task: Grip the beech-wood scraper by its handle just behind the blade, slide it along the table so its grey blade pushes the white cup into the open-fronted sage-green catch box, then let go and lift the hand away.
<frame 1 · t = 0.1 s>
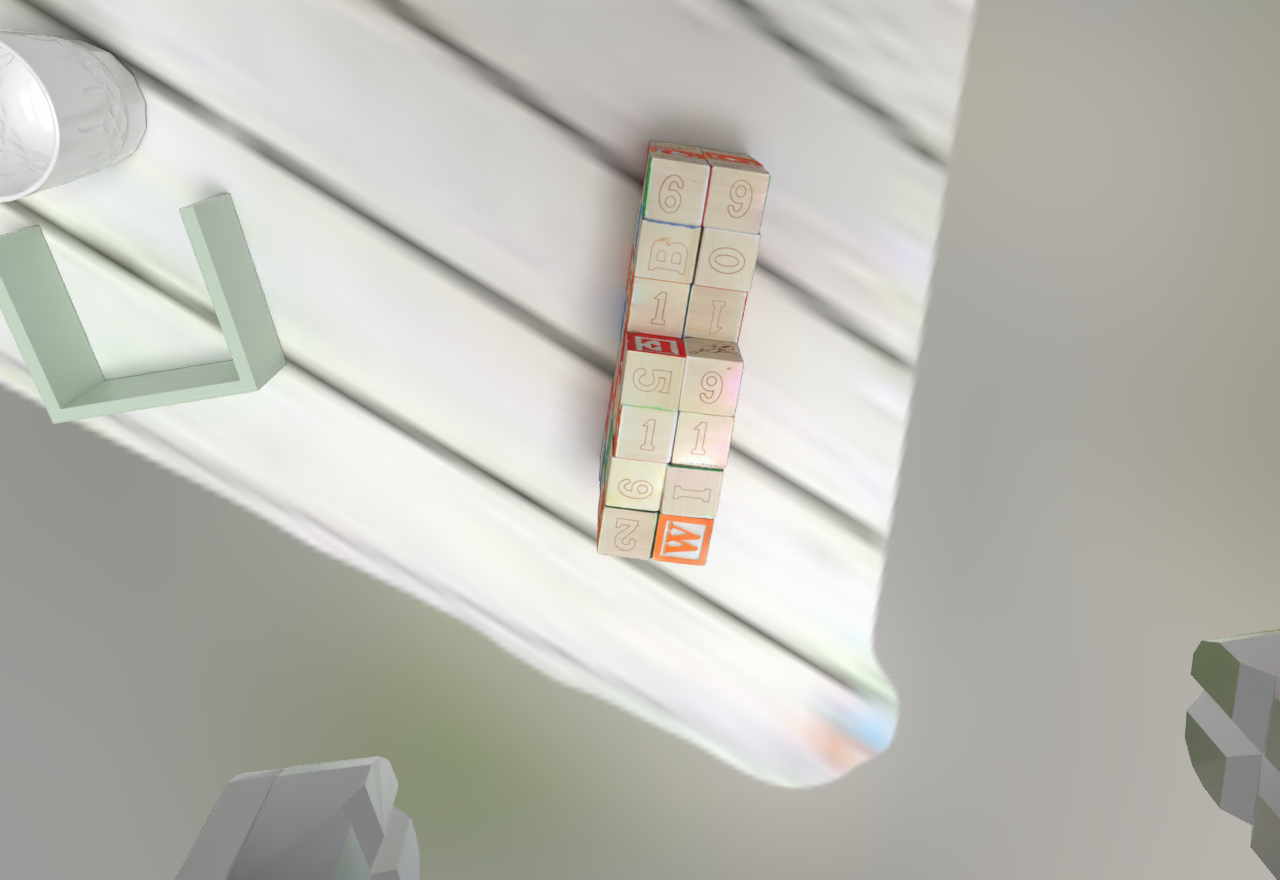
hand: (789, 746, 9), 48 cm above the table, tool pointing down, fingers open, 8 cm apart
catch box: (160, 298, 55), on the table
stack of blocks: (669, 318, 57), on the table
white cup: (89, 104, 51), on the table
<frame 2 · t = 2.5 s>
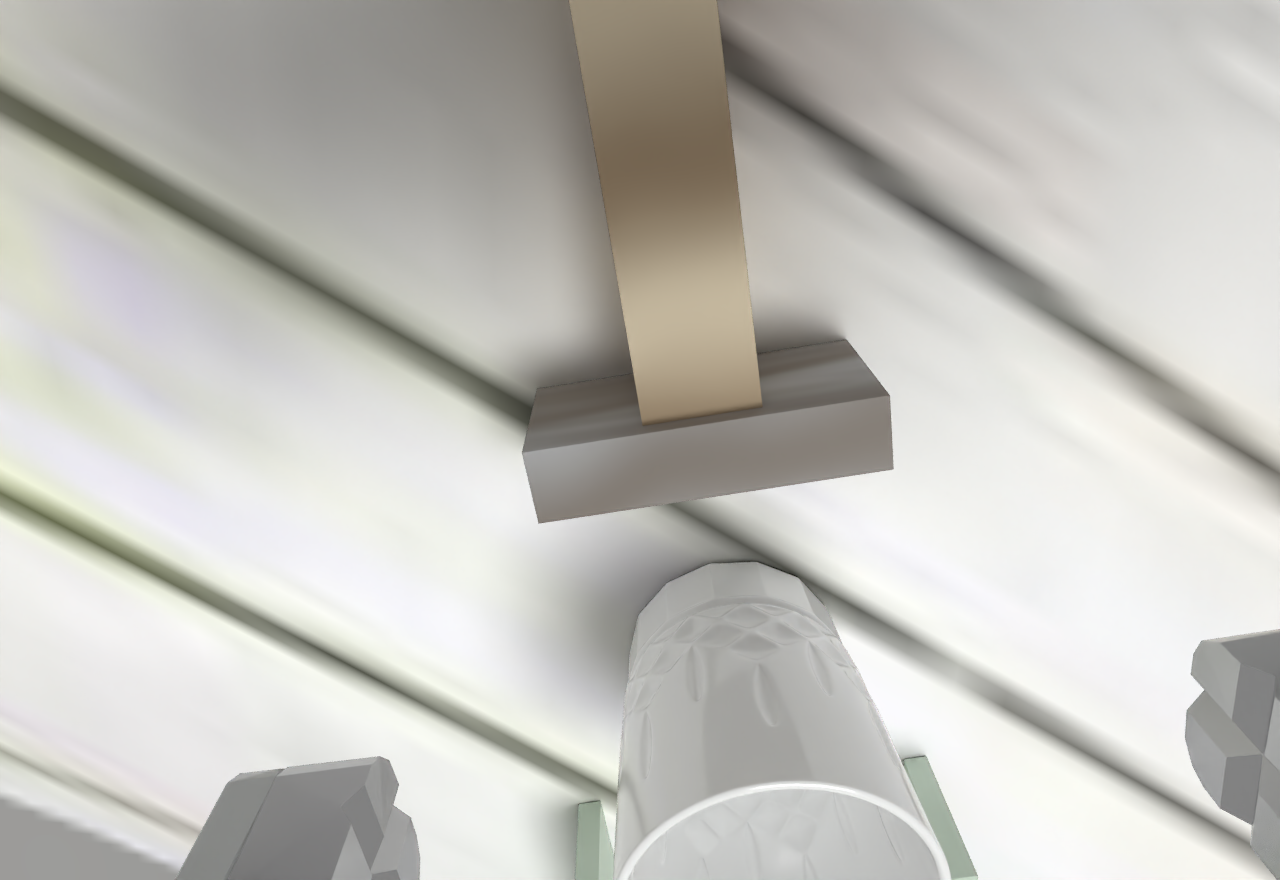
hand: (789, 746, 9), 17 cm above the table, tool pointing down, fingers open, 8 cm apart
scraper: (659, 148, 23), on the table
white cup: (730, 641, 30), on the table
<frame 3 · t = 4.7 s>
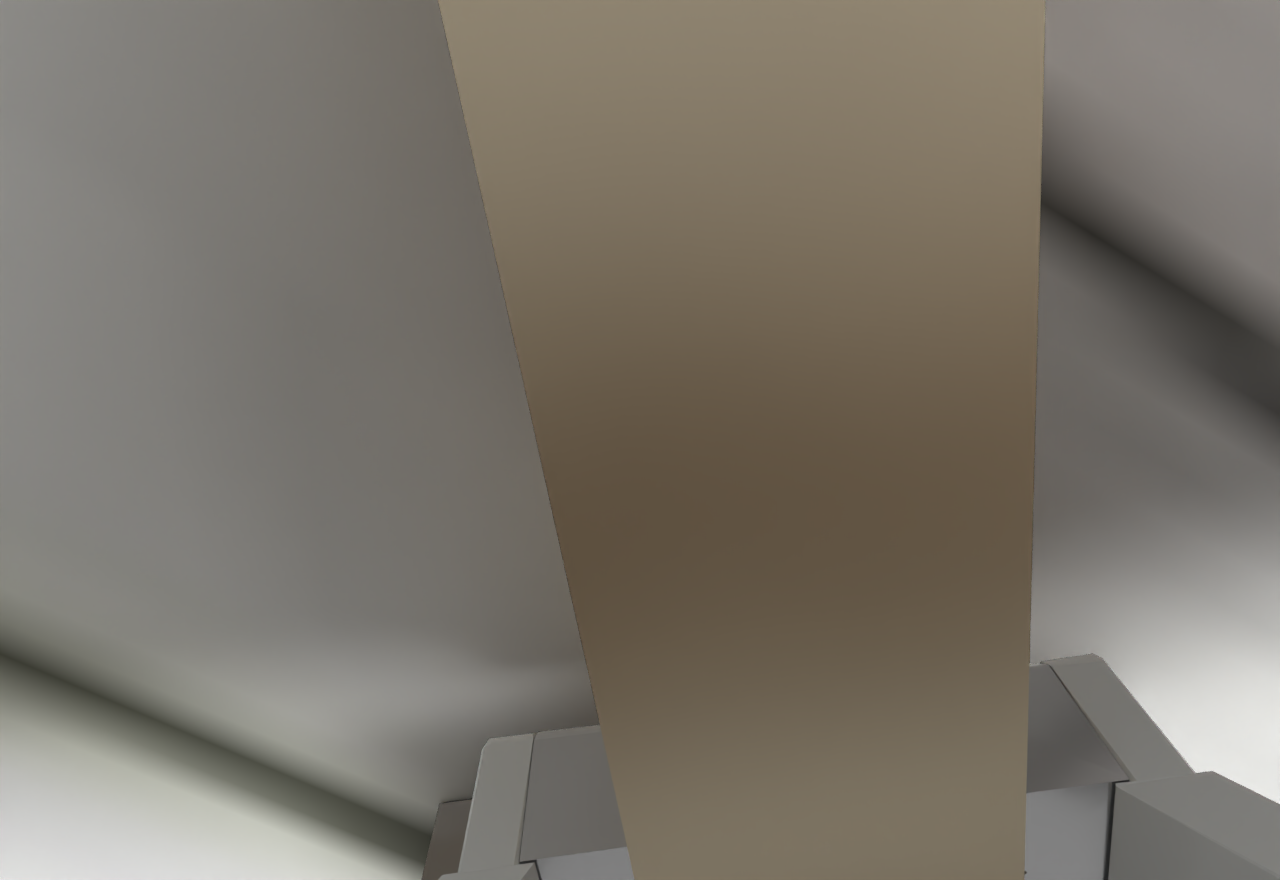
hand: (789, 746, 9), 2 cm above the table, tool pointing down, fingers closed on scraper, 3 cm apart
scraper: (722, 315, 9), on the table, touching gripper
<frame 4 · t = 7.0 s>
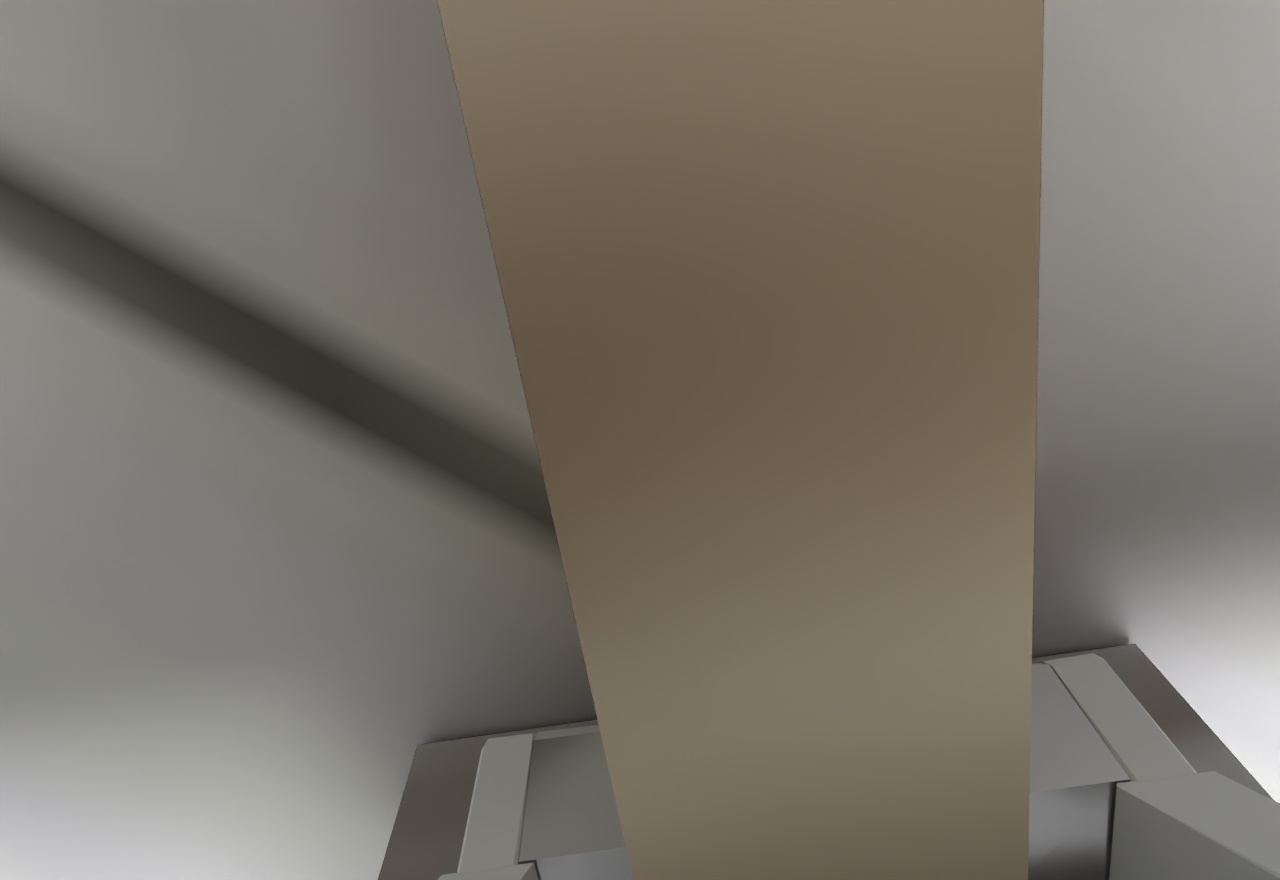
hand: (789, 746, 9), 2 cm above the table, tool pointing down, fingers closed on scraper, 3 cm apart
scraper: (709, 210, 9), on the table, touching white cup, gripper
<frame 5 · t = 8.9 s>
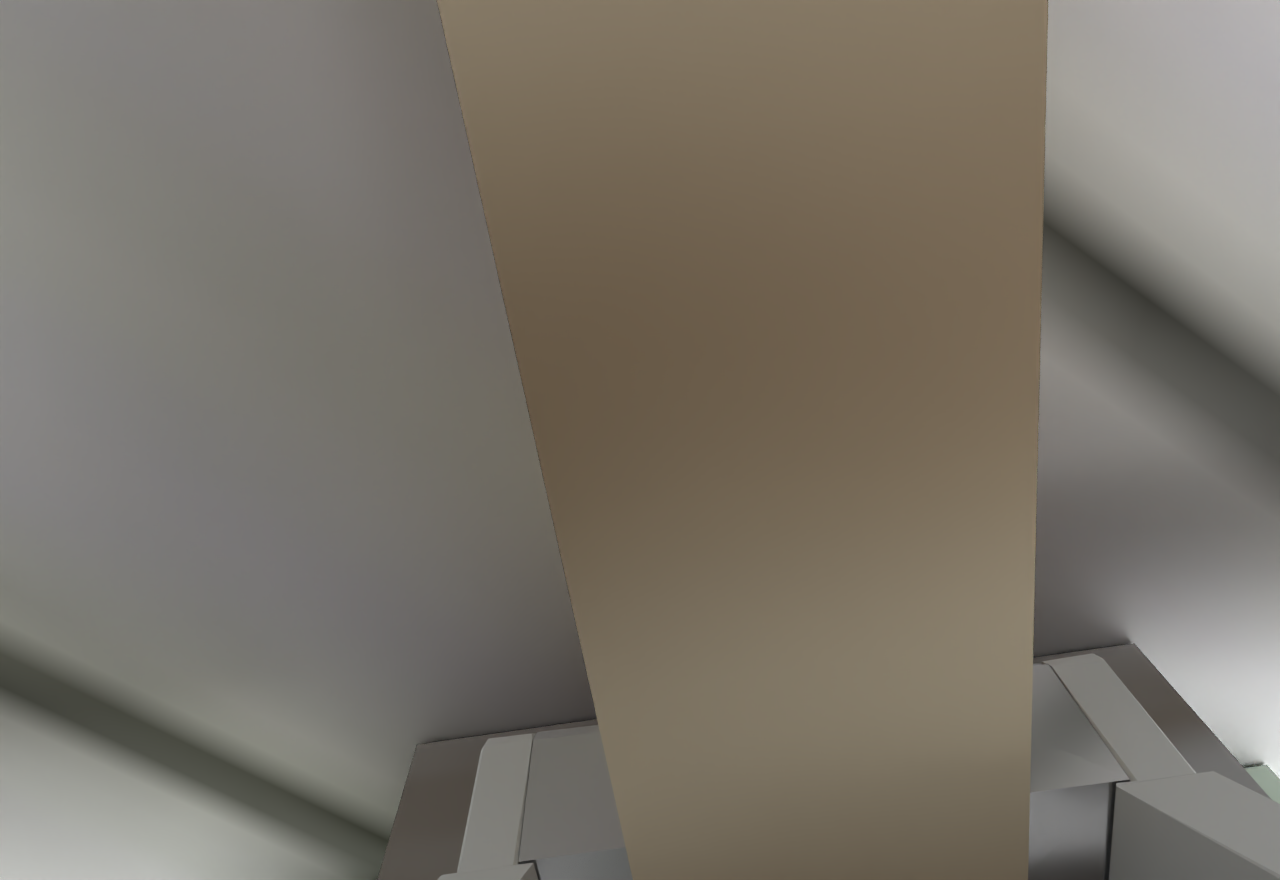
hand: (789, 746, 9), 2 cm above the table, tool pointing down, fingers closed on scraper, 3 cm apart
scraper: (709, 209, 9), on the table, touching white cup, gripper
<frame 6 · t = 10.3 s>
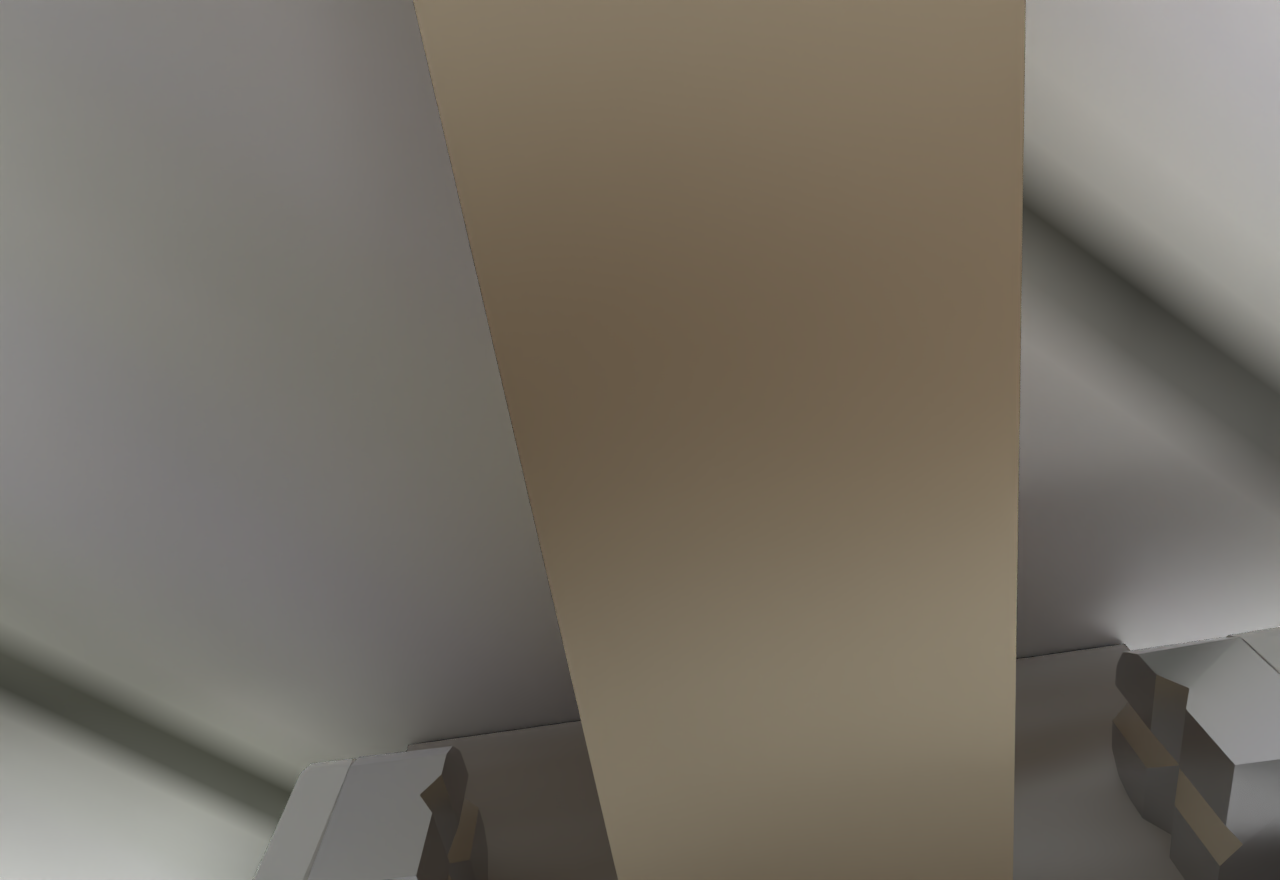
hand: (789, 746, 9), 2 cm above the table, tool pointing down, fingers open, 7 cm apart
scraper: (698, 211, 9), touching gripper
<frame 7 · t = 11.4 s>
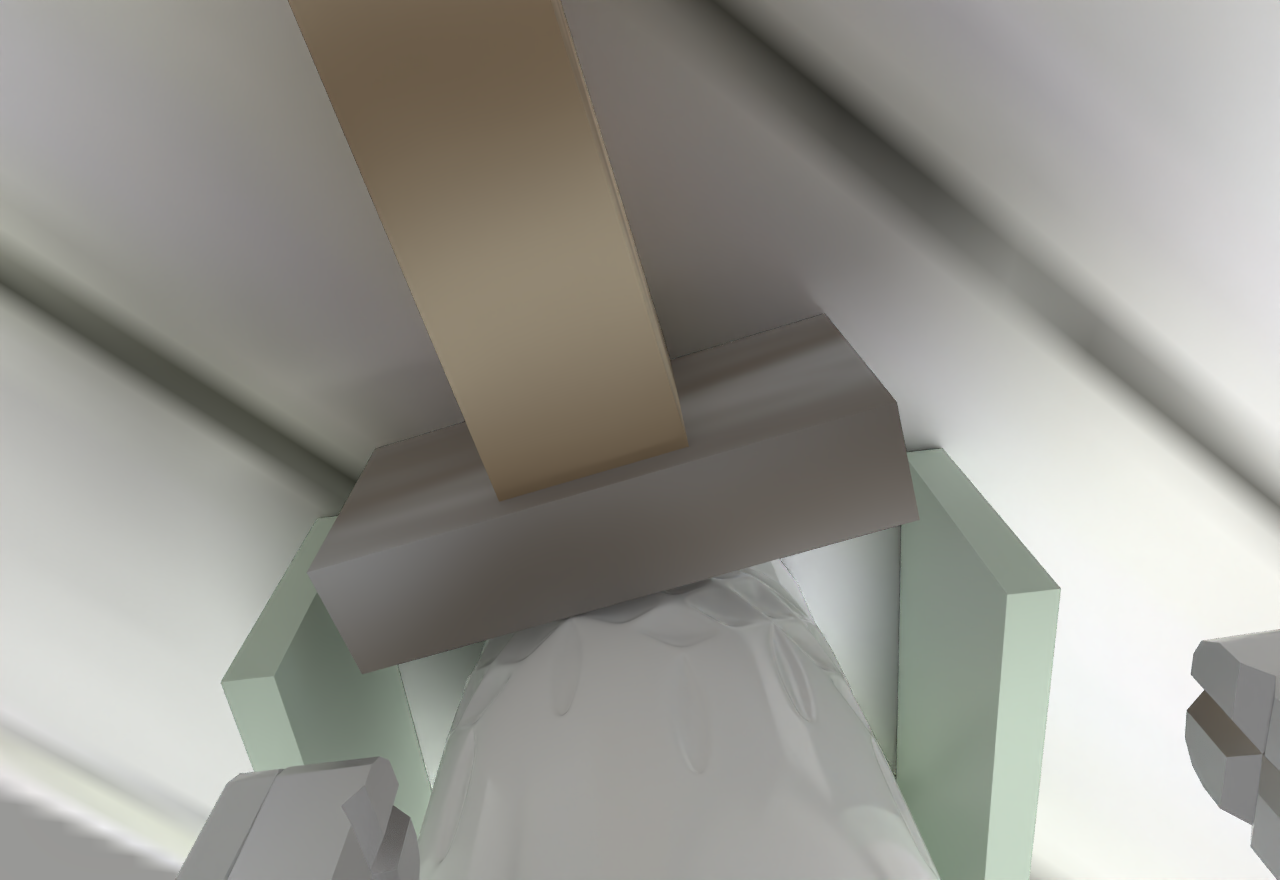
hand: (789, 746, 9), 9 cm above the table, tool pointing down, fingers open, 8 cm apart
catch box: (655, 695, 20), on the table
scraper: (481, 54, 15), on the table
white cup: (647, 625, 20), on the table
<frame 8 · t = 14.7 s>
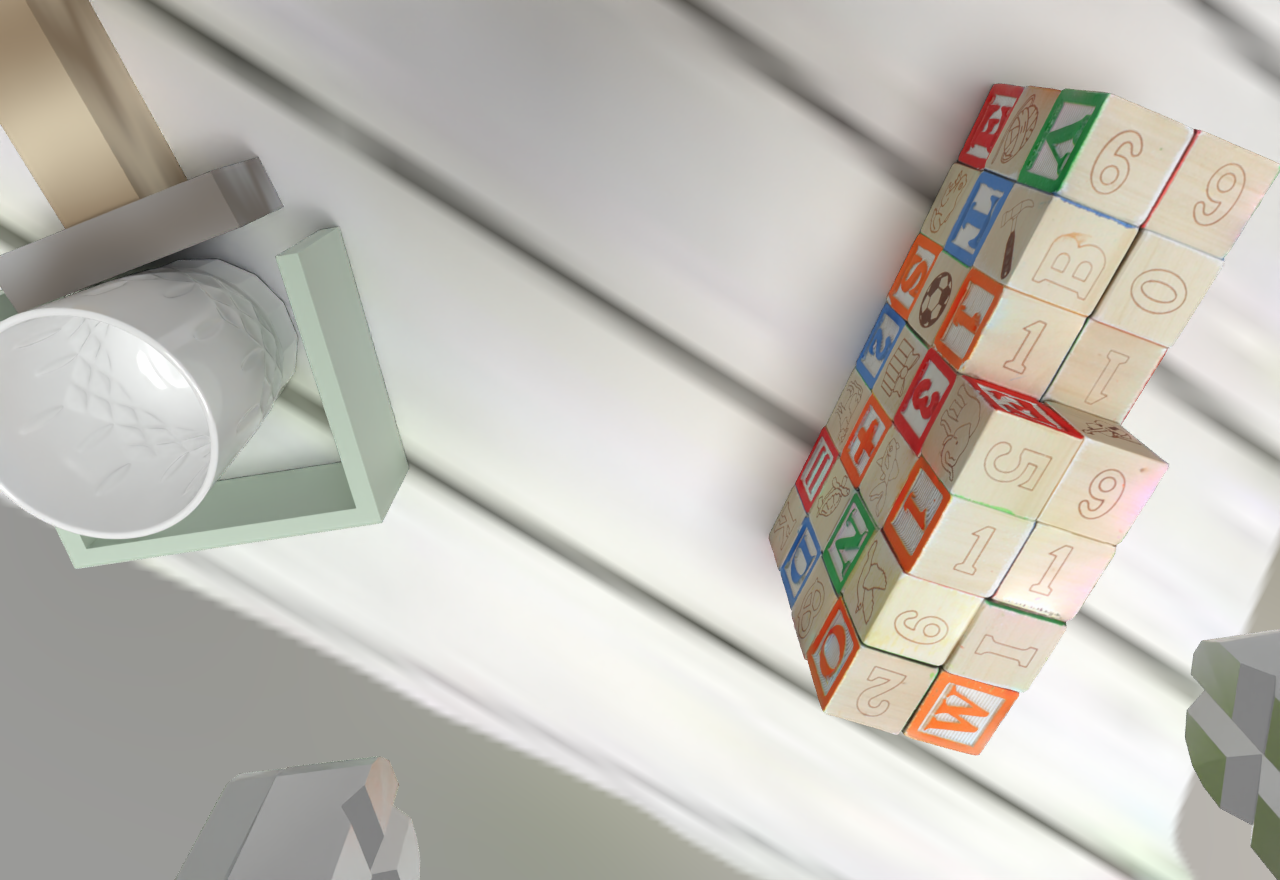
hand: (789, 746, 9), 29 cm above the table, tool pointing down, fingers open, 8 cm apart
catch box: (231, 377, 38), on the table
stack of blocks: (929, 354, 39), on the table
scraper: (67, 39, 33), on the table
white cup: (219, 336, 37), on the table
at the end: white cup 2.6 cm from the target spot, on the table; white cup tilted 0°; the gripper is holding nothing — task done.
